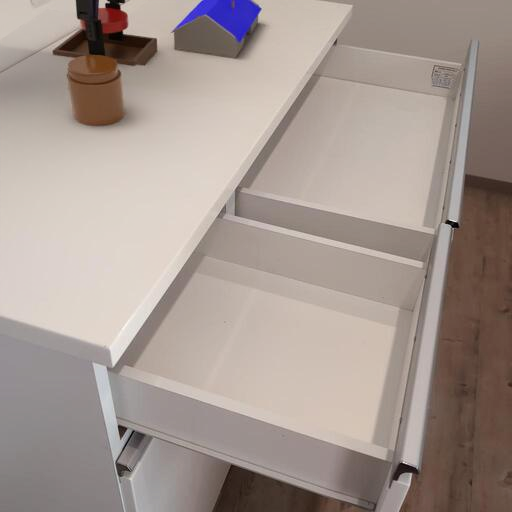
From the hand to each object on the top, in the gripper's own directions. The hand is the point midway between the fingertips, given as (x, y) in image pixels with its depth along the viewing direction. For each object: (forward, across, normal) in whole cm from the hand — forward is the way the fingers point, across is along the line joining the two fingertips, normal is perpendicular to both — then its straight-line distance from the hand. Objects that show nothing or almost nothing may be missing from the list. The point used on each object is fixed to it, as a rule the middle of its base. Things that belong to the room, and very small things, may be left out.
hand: (107, 47), depth 102 cm
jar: (+2, -25, -9) cm, 27 cm away
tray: (+2, 0, 0) cm, 2 cm away
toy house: (+2, +19, -17) cm, 26 cm away
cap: (-5, 0, 0) cm, 5 cm away
